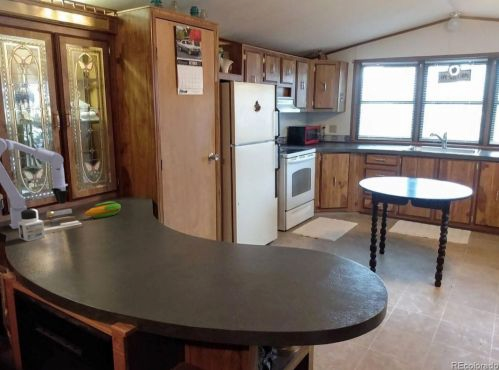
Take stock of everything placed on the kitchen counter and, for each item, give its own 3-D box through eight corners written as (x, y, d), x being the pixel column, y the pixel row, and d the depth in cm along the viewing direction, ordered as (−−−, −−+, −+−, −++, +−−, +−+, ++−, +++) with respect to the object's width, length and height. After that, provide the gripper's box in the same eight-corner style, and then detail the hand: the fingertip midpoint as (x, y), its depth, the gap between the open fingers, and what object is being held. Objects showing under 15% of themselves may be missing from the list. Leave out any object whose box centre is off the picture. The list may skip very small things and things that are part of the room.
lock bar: (47, 217, 191) (47, 213, 190) (46, 216, 193) (45, 211, 193) (72, 213, 198) (72, 209, 198) (70, 212, 201) (70, 207, 200)
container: (27, 241, 169) (23, 213, 166) (19, 238, 173) (16, 210, 171) (45, 237, 175) (42, 209, 172) (37, 234, 179) (34, 206, 177)
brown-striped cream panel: (34, 225, 193) (33, 217, 193) (70, 219, 204) (69, 211, 204) (44, 234, 179) (43, 225, 178) (82, 226, 190) (81, 218, 189)
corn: (123, 200, 213) (87, 206, 198) (124, 213, 214) (89, 221, 199) (116, 199, 218) (81, 205, 203) (117, 212, 219) (83, 219, 204)
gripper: (70, 177, 196) (73, 203, 198) (62, 174, 206) (64, 199, 209) (55, 179, 191) (58, 205, 194) (48, 175, 202) (50, 201, 204)
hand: (60, 202), depth 201 cm, fingers open, 6 cm apart
